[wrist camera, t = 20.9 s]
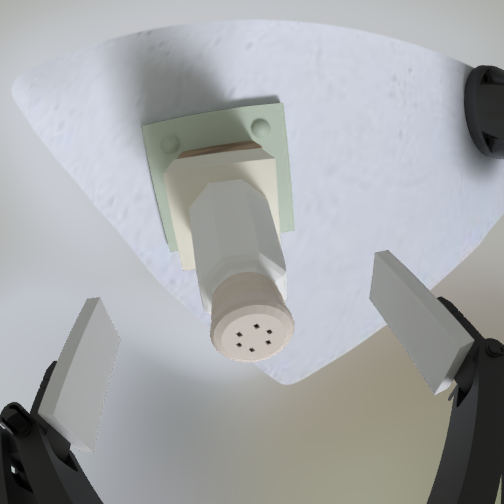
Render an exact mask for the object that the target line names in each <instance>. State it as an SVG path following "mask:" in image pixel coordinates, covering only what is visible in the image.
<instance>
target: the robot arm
mask: <svg viewBox="0 0 504 504" xmlns="http://www.w3.org/2000/svg"><path fill="white" fill-rule="evenodd" d="M465 112H466V119H467V124H468V128H469V131H470V134H471V136H472V139H473V141H474V143H475V144H476V146H477V147H478V149H479V150H480V151H481V152H482V153H484V154H485V155H488V156H490V157H493V158H496V159H504V70H502V69H500V68H498V67H495V66H485V65H482V66H478V67H476V68H475V69H474V70H473V71H472V72H471V74H470V75H469V78H468V81H467V84H466V90H465ZM369 299H370V300H371V302H372V303H373V304H374V306H375V307H376V309H377V310H378V311H379V313H380V314H381V316H382V317H383V318H384V320H385V321H386V323H387V324H388V326H389V327H390V328H391V330H392V331H393V333H394V334H395V335H396V337H397V339H398V340H399V342H400V343H401V344H402V346H403V347H404V349H405V350H406V352H407V353H408V355H409V356H410V358H411V359H412V361H413V363H414V364H415V366H416V367H417V369H418V370H419V372H420V373H421V375H422V376H423V378H424V380H425V381H426V383H427V384H428V386H429V387H430V389H431V391H432V392H433V394H434V395H436V394H437V393H440V392H441V391H443V390H445V389H447V388H449V386H450V384H451V383H452V381H453V379H454V380H455V381H456V383H457V385H456V387H455V389H454V390H453V392H452V393H451V394H450V396H449V399H448V400H449V401H450V400H451V399H452V397H453V396H454V399H453V406H452V411H451V417H450V423H449V428H448V432H447V437H446V441H445V446H444V450H443V454H442V457H441V461H440V465H439V468H438V472H437V475H436V478H435V481H434V484H433V487H432V490H431V493H430V496H429V498H428V502H427V504H495V500H496V496H497V491H498V488H499V483H500V478H501V477H502V486H501V487H502V488H501V490H502V491H501V504H504V345H502V343H500V342H499V341H498V340H495V339H492V338H488V339H484V338H483V337H482V336H481V334H480V333H479V332H478V331H477V330H476V329H475V328H474V326H473V325H472V324H471V323H470V322H469V321H468V320H467V319H466V318H465V317H464V316H463V314H462V313H461V312H460V311H458V309H457V308H456V307H455V306H454V305H453V304H452V303H451V302H450V301H448V300H446V299H445V298H443V297H438V298H436V297H435V296H434V295H433V294H432V293H431V292H430V291H429V290H428V289H427V288H426V287H425V286H424V284H423V283H422V282H421V281H420V280H419V279H418V278H417V277H416V276H415V275H414V274H413V273H412V272H411V271H410V270H408V269H407V268H406V267H405V266H404V265H403V264H402V263H401V262H400V261H399V260H398V259H397V258H396V257H395V256H394V255H393V254H392V253H391V252H390V251H389V250H386V251H381V252H376V253H375V258H374V267H373V275H372V283H371V290H370V297H369ZM120 340H121V339H120V337H119V335H118V333H117V331H116V329H115V327H114V325H113V323H112V321H111V319H110V317H109V315H108V313H107V311H106V309H105V307H104V304H103V302H102V300H101V298H100V297H98V298H90V299H87V300H86V302H85V304H84V306H83V308H82V310H81V312H80V314H79V316H78V318H77V320H76V322H75V324H74V326H73V328H72V331H71V332H70V335H69V337H68V339H67V341H66V343H65V345H64V347H63V350H62V352H61V354H60V356H59V359H58V361H54V362H53V363H52V364H51V365H50V366H49V367H48V369H47V370H46V373H45V375H44V377H43V381H42V382H41V385H40V388H39V390H38V392H37V395H36V397H35V400H34V403H33V405H32V409H31V411H30V414H29V413H28V412H27V411H26V410H25V409H24V408H23V407H22V406H21V405H20V404H19V403H17V402H12V403H10V404H8V405H7V406H5V407H4V409H3V410H2V412H1V415H0V424H1V425H2V426H4V427H5V428H6V429H3V428H2V427H1V426H0V504H103V502H102V501H101V499H100V498H99V497H98V495H97V493H96V492H95V490H94V489H93V487H92V485H91V484H90V482H89V481H88V479H87V477H86V476H85V474H84V472H83V470H82V469H81V467H80V465H79V463H78V461H77V459H76V458H75V456H74V454H73V453H72V451H71V450H70V445H71V444H72V445H73V446H74V447H76V448H77V449H78V450H81V451H87V452H94V449H95V444H96V439H97V434H98V429H99V424H100V418H101V414H102V409H103V405H104V401H105V396H106V392H107V388H108V384H109V380H110V376H111V372H112V369H113V365H114V361H115V358H116V354H117V350H118V347H119V344H120ZM11 466H13V467H14V468H15V473H13V472H12V470H11Z"/></svg>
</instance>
